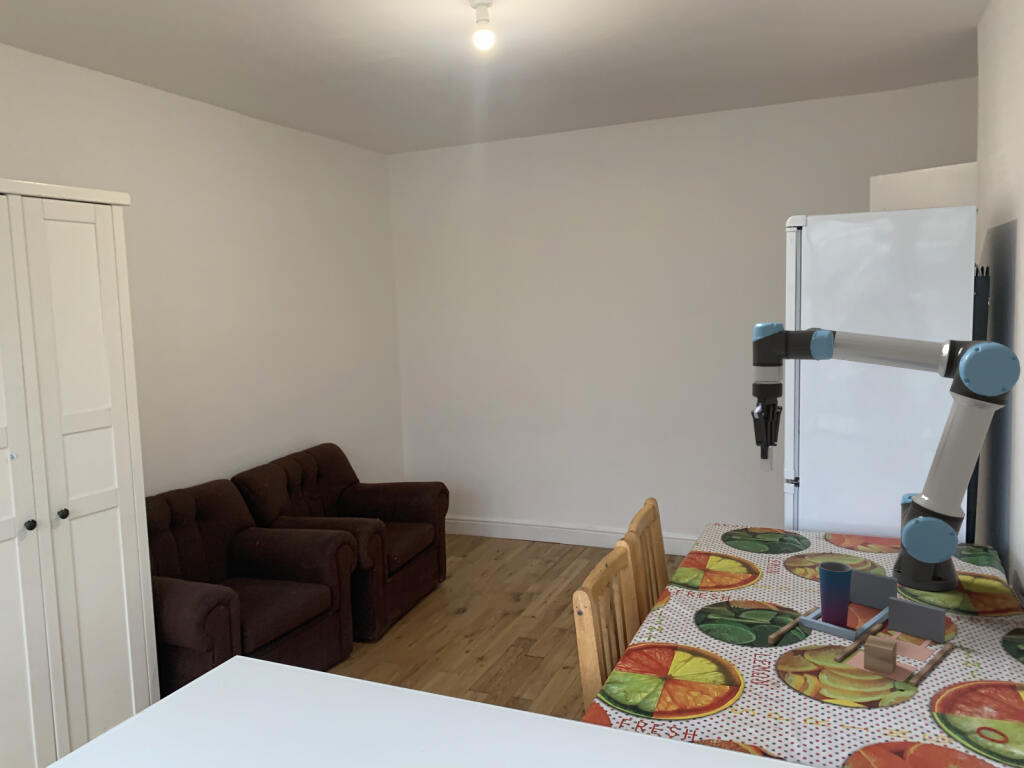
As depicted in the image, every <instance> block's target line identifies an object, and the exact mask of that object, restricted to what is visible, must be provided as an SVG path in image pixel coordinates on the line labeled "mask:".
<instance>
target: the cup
mask: <svg viewBox="0 0 1024 768" xmlns="http://www.w3.org/2000/svg"><path fill="white" fill-rule="evenodd" d="M852 569H853V567H852V566H851V565H849V564H847V563H844V562H840V561H831V560H830V561H822V562H820V563H818V577H819V594H820V607H821V622H825V623H828V624H832V625H835V626H839V627H842V628H846V629H848V618H849V606H850V602H849V596H850V584H851V573H852Z"/></svg>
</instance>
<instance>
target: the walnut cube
mask: <svg viewBox="0 0 1024 768" xmlns="http://www.w3.org/2000/svg"><path fill="white" fill-rule="evenodd" d="M863 651H864V669H869V670H873V671H877V672H881V673H885V674H890V675H892V673H893V671H894V669H895V666H896V661H897V655H898V654H897V641H895V640H890V639H886V638H881V637H879V636H876V635H869V637H868V639H867V640H866V641H865V642H864V645H863Z"/></svg>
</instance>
